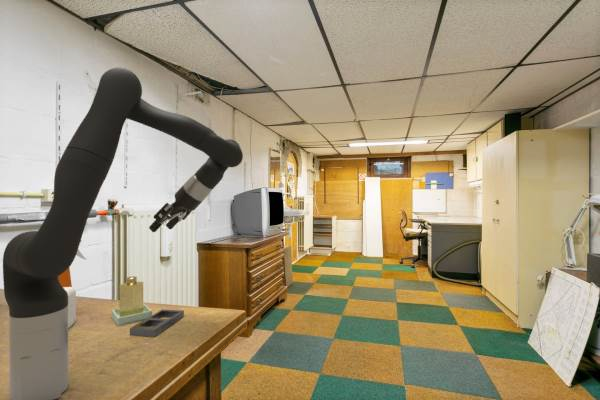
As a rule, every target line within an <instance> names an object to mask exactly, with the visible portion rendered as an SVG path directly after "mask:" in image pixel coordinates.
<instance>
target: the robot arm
mask: <svg viewBox="0 0 600 400" xmlns="http://www.w3.org/2000/svg"><path fill="white" fill-rule="evenodd" d="M142 95H143V87H142V83H141V80H140V78H139V77H138V76H137V74H136V73H134V72H133V71H132V70H131V69H128V68H125V67H113V68H109V69H108V70H106V71H105V72H104V73H103V74H102V75H101V77H100V79H99V82H98V86H97V89H96V92H95V94H94V98H93V100H92V103H91V105H90V108H89V110H88V112H87V113H86V115H85V116H84V118H83V119H82V120H81V123H80V124H79V125H78V127H77V129H76V130H75V132H74V133H73V136H72V138H71V139H70V141H69V142H68V144H67V145H66V146H65V149H64V152H63V154H62V155H61V157H60V159H59V161H58V163H57V165H56V168H55V171H54V179H53V198H52V203H51V206H50V208H49V211H48V213H47V215H46V216H45V218H44V220H43V223H42V224H41V226H40V227H39V229H38V230H30V231H25V232H22V233H19V234H17V235H16V236H14V237H13V238H12V239H10V241H9V242H8V243H7V244H6V247H5V249H4V252H3V255H2V279H3V293H4V298H5V302H6V303H7V306H8V310H9V311H8V313H9V314H8V317H9V318H8V320H9V322H8V323H9V324H8V325H9V331H8V338H9V339H8V340H9V341H8V343H9V345H8V348H9V351H8V353H9V357H8V359H9V366H8V367H9V368H8V369H9V400H57V399H60V398H61V397H62V395H63V393H64V392H65V391H66V390H67V389H68V387H69V328H68V294H67V292H66V291H65V289H64V288H63V287H62V286H61V284H60V282H59V279H58V276H59V275H61V274H62V273H64V272H65V271H66V270H67V269H68V268H70V267H71V266H72V264H73V262H74V261H75V258H76V257H77V255H76V254H77V251H78V249H79V248H80V244H81V242H82V237H83V234H84V231H85V227H86V226H87V221H88V218H89V216H90V213H91V211H92V209H93V206H94V204H95V202H96V200H97V198H98V195H99V192H100V190H101V188H102V186H103V184H104V182H105V180H106V179H107V176H108V174H109V172H110V169H111V167H112V165H113V162H114V160H115V156H116V153H117V150H118V146H119V143H120V139H121V135H122V130H123V127H124V125H125V122H126V120H131V121H134V122H136V123H138V124H141V125H144V126H146V127H150V128H152V129H154V130H157V131H160V132H162V133H163V134H166V135H168V136H171V137H173V138H175V139H177V140H179V141H181V142H183V143H185V144H186V145H189V146H190V147H192V148H194V149H196V150H198V151H201V152H203V153H204V154H205V155H206V156H208V158H207V160H206V161H205V162H204V163H203V164H202V165H201V166H200V167H199V169H198V170H197V171H196V172H195V173H194V174H193V175H191V176H190V177H189V178H188V179H187V181H185V182H184V183H183V184H182V186H181V187H180V188H179V189H178V190H177V191H176V193H175V194H174V198H175V200H174V202H172V203H171V204H169V203H168V202H166V203H165V204H164V205H163V206H162V207H161V208H160V209H159V210H158V211H157V212H156V213H155V214H154V215H153V218H154V219H155V220H154V221H153V222H152V223H151V224H150V226H149V227H148V229H149V230H150V231H151V233H156V232H157V231H158V230H159V228H160V227H161V226H163V224H165V223H166V222H167V221H168V222H167V223H166V224H165V226H166V228H167V229H169V230H173V228H174V227H175V226H176V225H178V223H179V222H181V221H185V220H186V219H187V217H188V216H189V215H190V214H191V213H192V212H193V211H195V210H196V209H197V208H198V207H199V206H200V204H202V203H203V201H205V200H206V198H207V197H208V196H209V195H210V193H211V192H212V191H213V190H214V189H215V187H216V186H217V185H218V184H219V183H220V182H221V181H222V180H223V178H224V175H225V172H226V171H227V170H229V169H228V168H236V167H238V166H240V165H241V163H242V161H243V158H244V157H243V155H244V154H243V151H242V148H241V145H240V144H239V143H238V142H237V141H236V140H235V139H231V138H230V139H225V138H223V137H221V136H219V135H218V134H217V133H216V132H215V131H214V130H212V129H211V128H210V127H208V126H206V125H204V124H203V123H200V122H199V121H197V120H196V119H193V118H191V117H189V116H187V115H182V114H178V113H175V112H172V111H167V110H163V109H161V108H159V107H156V106H154V105H152V104H150V103H149V102H147V101H146V100H145V99H143V98H142ZM80 241H81V242H80Z"/></svg>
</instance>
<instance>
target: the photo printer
mask: <svg viewBox="0 0 600 400" xmlns="http://www.w3.org/2000/svg"><path fill="white" fill-rule="evenodd" d="M63 288H64V289H65V291H66V292H67V294H68V329H69V328H71V327H72V326H73V325H74V323H75V322H76V320H77V296H76V295H77V292H76V289H75V288H74V287H73V286H72V287H63Z"/></svg>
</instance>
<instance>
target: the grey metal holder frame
mask: <svg viewBox="0 0 600 400" xmlns="http://www.w3.org/2000/svg"><path fill="white" fill-rule="evenodd" d="M184 316H185V311H184V309H183V310H181V309H180V310H179V309H167V308H166V309H161V310H159V311H157V312H155V313H152V316H150V317H148V318H147V319H145V320H143V321H139V322H137V323H136V324H135V325H133V326H131V327H130V328H129V336H133V337H134V336H136V337H147V338H155V337H157V336H158V335H160V334H161V333H163V332H164V331H165V330H167V329H168V328H170V327H171V326H172V325H174V324H176V323H177V322H178V321H179V320H182V319H183V318H184Z"/></svg>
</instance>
